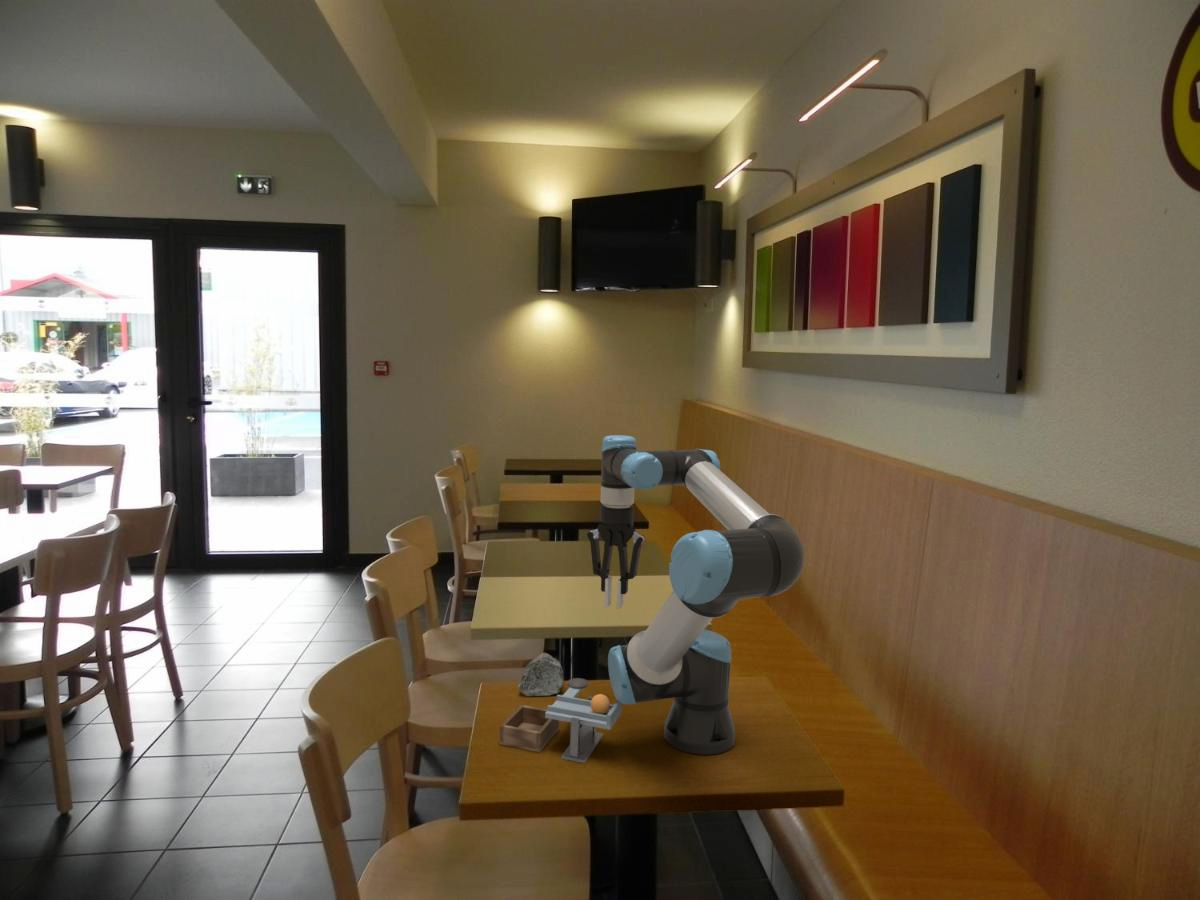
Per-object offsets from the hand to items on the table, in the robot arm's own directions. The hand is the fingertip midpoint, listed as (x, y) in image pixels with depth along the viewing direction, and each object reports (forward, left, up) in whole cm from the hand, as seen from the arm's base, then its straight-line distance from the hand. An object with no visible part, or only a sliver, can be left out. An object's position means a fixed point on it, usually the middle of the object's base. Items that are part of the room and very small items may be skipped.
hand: (613, 606), depth 178 cm
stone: (+18, -3, -25) cm, 31 cm away
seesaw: (0, +14, -17) cm, 23 cm away
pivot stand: (0, +19, -24) cm, 31 cm away
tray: (+12, +19, -24) cm, 33 cm away
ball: (-3, +19, -16) cm, 25 cm away
